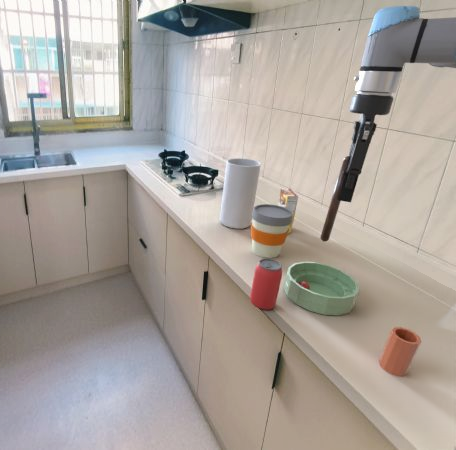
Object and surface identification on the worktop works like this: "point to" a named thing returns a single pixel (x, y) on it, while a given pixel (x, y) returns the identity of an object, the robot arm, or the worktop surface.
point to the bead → (304, 285)
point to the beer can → (266, 284)
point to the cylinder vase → (239, 192)
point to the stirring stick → (334, 202)
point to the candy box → (288, 202)
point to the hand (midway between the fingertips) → (344, 199)
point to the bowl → (321, 288)
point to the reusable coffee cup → (269, 229)
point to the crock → (399, 351)
